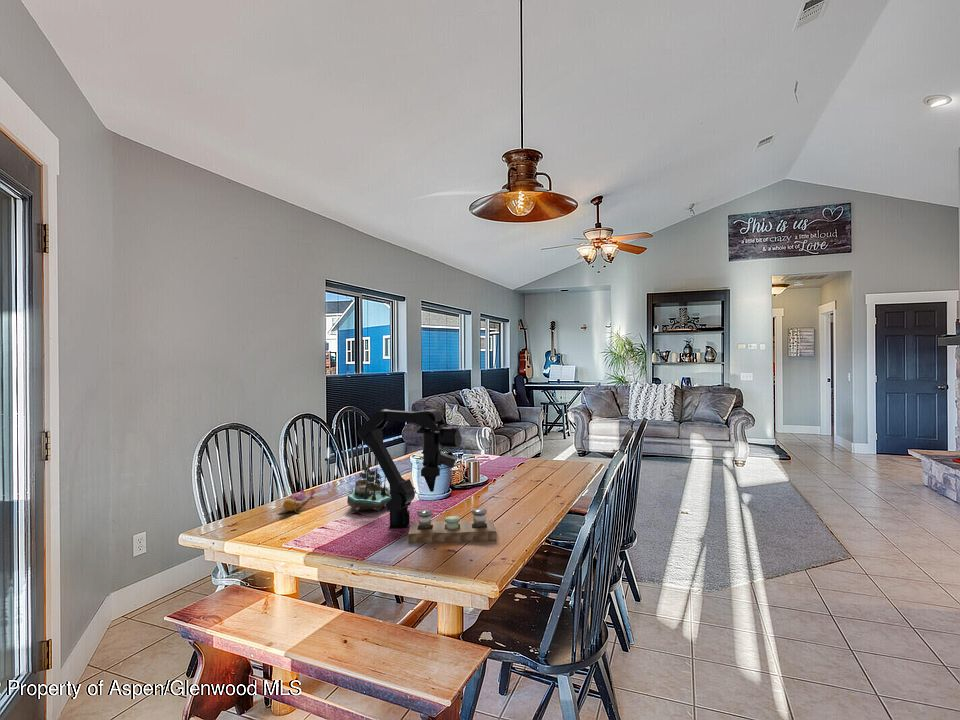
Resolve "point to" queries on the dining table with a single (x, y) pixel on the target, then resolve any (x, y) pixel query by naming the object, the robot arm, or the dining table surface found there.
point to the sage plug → (452, 522)
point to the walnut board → (452, 532)
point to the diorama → (369, 492)
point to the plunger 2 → (479, 516)
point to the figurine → (296, 501)
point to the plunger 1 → (424, 518)
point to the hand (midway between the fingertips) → (431, 491)
